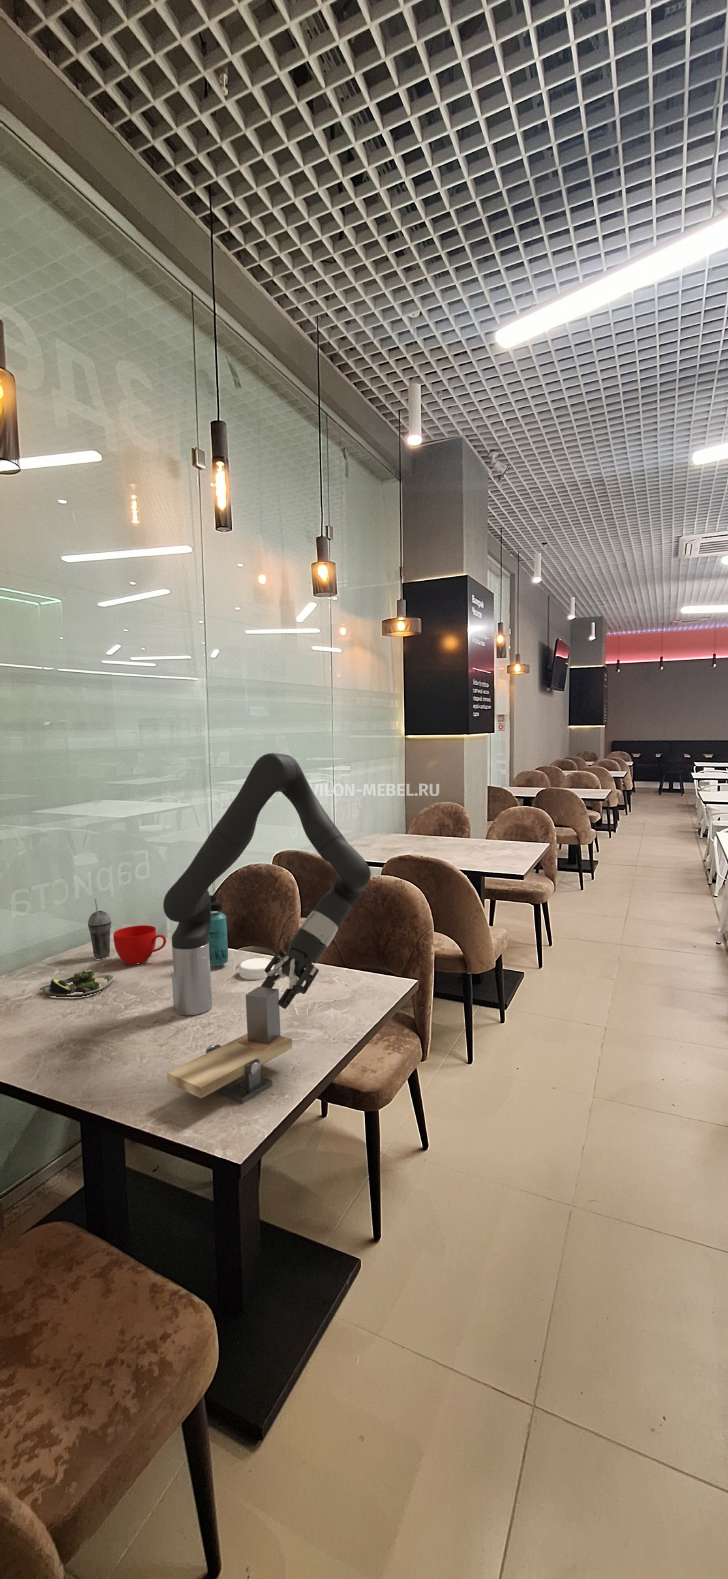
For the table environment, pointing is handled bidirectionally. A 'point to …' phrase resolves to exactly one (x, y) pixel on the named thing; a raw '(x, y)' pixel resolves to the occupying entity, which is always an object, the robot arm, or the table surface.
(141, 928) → the ceramic cup
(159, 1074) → the table surface
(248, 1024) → the block
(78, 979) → the salad plate
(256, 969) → the coaster
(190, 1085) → the seesaw plank
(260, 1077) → the seesaw stand
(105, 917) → the beverage cup
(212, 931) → the beverage bottle
